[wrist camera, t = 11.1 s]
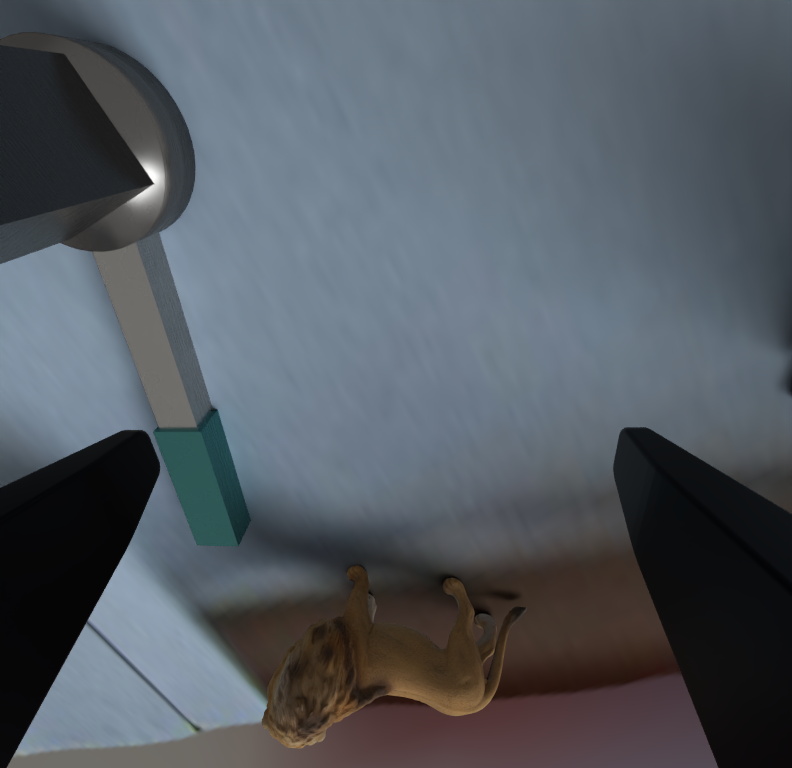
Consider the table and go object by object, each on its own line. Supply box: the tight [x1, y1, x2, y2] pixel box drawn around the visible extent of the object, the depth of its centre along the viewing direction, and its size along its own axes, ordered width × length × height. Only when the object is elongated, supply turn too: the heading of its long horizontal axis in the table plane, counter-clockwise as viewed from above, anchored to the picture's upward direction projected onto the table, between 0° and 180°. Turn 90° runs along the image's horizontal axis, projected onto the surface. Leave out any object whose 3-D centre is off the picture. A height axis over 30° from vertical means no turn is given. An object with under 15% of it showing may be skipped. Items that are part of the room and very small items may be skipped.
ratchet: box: [0, 32, 251, 546], centre depth 21 cm, size 7×24×5 cm, turn 4°
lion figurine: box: [262, 565, 527, 748], centre depth 27 cm, size 15×5×9 cm, turn 92°
